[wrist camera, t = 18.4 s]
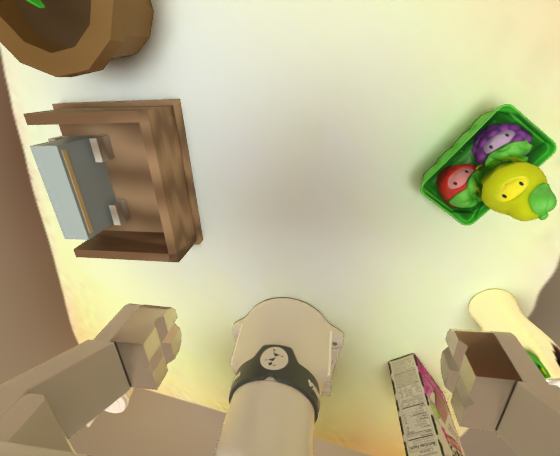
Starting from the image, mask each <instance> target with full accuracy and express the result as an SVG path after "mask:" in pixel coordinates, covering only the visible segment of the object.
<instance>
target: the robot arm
mask: <svg viewBox="0 0 560 456" xmlns="http://www.w3.org/2000/svg"><path fill="white" fill-rule="evenodd" d="M176 319H177V314H176V310H175V309H173V308H171V307H161V306H151V305H138V304H127V305H125V306H124V307H123V308H122V309H121V310H120V311H119V312H118V313H117V315H116V316H115V317H114V318H113V319H112V320H111V321H110V322H109V323H108V324H107V326H106V327H105V328H104V329H103V330H102V331H101V332H100V333H99V334H98V335H97V336H96V338H95V339H94V340H87V341H85V342H83V343H81V344H79V345H77V346H75V347H73V348H71V349H70V350H68V351H66V352H64V353H62V354H60V355H58V356H56V357H54V358H52V359H50V360H48V361H46V362H44V363H42V364H40V365H38V366H36V367H34V368H33V369H30V370H28V371H26V372H25V373H23V374H21V375H19V376H17V377H15V378H13V379H11V380H9V381H7V382H5V383H3V384H1V385H0V456H91V455H84V454H79V453H75V451H74V449H73V448H72V446H71V444H70V442H69V440H68V439H69V438H71V437H72V436H73V435H74V434H76V433H77V432H78V431H79V430H80V429H81V428H83V427H84V426H85V425H87V424H88V423H89V422H90V421H92V420H93V419H94V418H95V417H97V416H98V415H99V414H100V413H101V412H103V411H104V410H105V409H106V408H108V407H109V406H110V405H111V404H113V403H114V402H115V401H116V400H118V399H119V398H120V397H121V396H123V395H124V394H125V393H126V392H127V391H129V390H130V389H131V388H130V387H132V388H143V389H154V390H157V389H158V387H159V386H160V384H161V382H162V380H163V379H164V377H165V375H166V373H167V372H168V369H167V364H168V363H169V362H171V361H172V360H174V359H175V357H176V355H177V354H178V352H179V348H180V345H181V331H180V328H179V327H178V326H177V325H176V324H175V323H174V322H175V321H176ZM232 332H233V335H234V337H235V340H236V345H235V348H234V352H233V355H232V359H231V366H233V370H234V372H235V374H236V375H235V378H234V380H233V382H232V385H231V390H230V396H229V404H230V405H229V408H228V411H227V415H226V418H225V421H224V424H223V427H222V430H221V433H220V437H219V440H218V443H217V446H216V449H215V453H214V456H313V454H314V453H313V451H314V450H313V449H314V448H313V447H314V445H313V443H314V424H315V422H316V420H317V417H318V412H319V407H320V399H319V398H320V395H326V396H330V394H331V388H332V373H333V370H334V367H335V364H336V361H337V358H338V355H339V352H340V349H341V346H342V343H343V338H344V335H343V333H342V332H341V331H340V330H338V329H337V328H335V327H333V326H332V325H330V324H329V323H328V322H327V321H326V320H325V318H324V317H323V316H322V315H321V314H320V313H319V312H318V311H317V310H316V309H314V308H313V307H311V306H310V305H308V304H306V303H304V302H301V301H298V300H294V299H288V298H276V299H270V300H267V301H264V302H262V303H260V304H258V305H257V306H255V307H254V308H253V309H252V310H251V311H250V313H249V314H248V315H247V316H246V317H245V318H244V319H241V320H239V321H237V322H236V323H235V324H234V325H233V329H232ZM334 342H336V343H334ZM446 342H447V344H448V348H446V349H445V350H443V351H442V356H441V373H442V378H443V381H444V384H445V387H446V388H447V389H448V390H449V391H451V392H452V393H453V395H452V399H451V404H452V407H453V410H454V412H455V415H456V418H457V421H458V423H459V426H461V427H468V428H475V429H482V430H489V431H495V432H496V434H497V435H498V436H499V437H500V438H501V439H502V440H503V441H504V442H505V444H506V445H507V446H508V447H509V448H510V449H511V450H512V451H513V452H514V453H515V454H516V455H517V456H560V387H558V386H557V385H549V383H548V382H547V380H546V379H545V378H544V376H543V375H542V373H541V372H540V370H539V369H538V368H537V366H536V365H535V363H534V362H533V360H532V359H531V358H530V356H529V355H528V353H527V352H526V351H525V349H524V348H523V346H522V345H521V343H520V342H519V341H518V339H517V338H516V336H515V335H514V334H512V333H511V332H495V331H490V332H488V331H475V330H461V329H449V331H448V332H447V336H446Z"/></svg>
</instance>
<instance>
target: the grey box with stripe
mask: <svg viewBox="0 0 560 456" xmlns="http://www.w3.org/2000/svg"><path fill="white" fill-rule="evenodd" d="M97 136H98V135H86V136H71V137H67V138H63V139H58V140H54V141H50V142H46V143H41V144H37V145H33V146H30V148H31V151H32V153H33V156H34V159H35V161H36V164H37V166H38V169H39V172H40V174H41V177H42V180H43V182H44V185H45V188H46V190H47V193H48V195H49V198H50V201H51V203H52V206H53V209H54V211H55V214H56V217H57V219H58V222H59V224H60V227H61V230H62V232H63V235H64V238H65V239H83V240H89V239H91V238H92V237H94V236H95V235H96V234H98V233H99V232H101V231H102V230H104V229H105V228H107V227H108V226H110V225H111V224H113V223H114V222H113V218H112V215H111V212H110V208H109V205H110V204H112V203H114V202H115V201H116V198H115V194H114V191H113V187H112V184H111V180H110V177H109V173H108V170H107V166H106V163H105V162H96V161H95V157H94V154H93V151H92V147H91V144H90V140H89V138H93V137H97Z"/></svg>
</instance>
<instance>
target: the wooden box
mask: <svg viewBox="0 0 560 456" xmlns="http://www.w3.org/2000/svg"><path fill="white" fill-rule="evenodd" d="M52 105H53V108H54V110H50V111H42V112H34V113H27V114H24V117H25V119H26V122H27V125H47V124H59V126H60V130H61V133H62V136H60V137H55V138H51V139H48V141H49V142H50V141H54V140H58V139H63V138H67V137H71V136H86V135H98V136H97V137H93V138H89V140H90V144H91V147H92V151H93V154H94V157H95V161H96V162H105V163H106V166H107V170H108V173H109V177H110V180H111V184H112V187H113V191H114V194H115V198H116V201H115V202H114V203H112V204H110V205H109V208H110V212H111V215H112V218H113V222H114V223H113V224H111V225H110V226H108V227H107V228H105V229H104V230H102V231H101V232H99V233H98V234H96V235H95V236H94V237H92V238H91V239H89V240H87V241H85V242H84V243H82V244H81V245H79V246H78V247H76V248H75V249H74V252H75V255H76V257H87V258H106V259H126V260H145V261H164V262H179V261H180V260H181V259H182V258H183V257H184V255H185V254H186V253H187V252H188V251H189V249H190V248H191V247H192V246H193V245H194V244H200V243H201V242H202V240H203V237H202V231H201V225H200V219H199V213H198V207H197V201H196V195H195V189H194V183H193V177H192V170H191V164H190V158H189V152H188V146H187V140H186V134H185V128H184V122H183V116H182V110H181V104H180V99H168V100H139V101H111V102H82V103H58V104H52Z"/></svg>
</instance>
